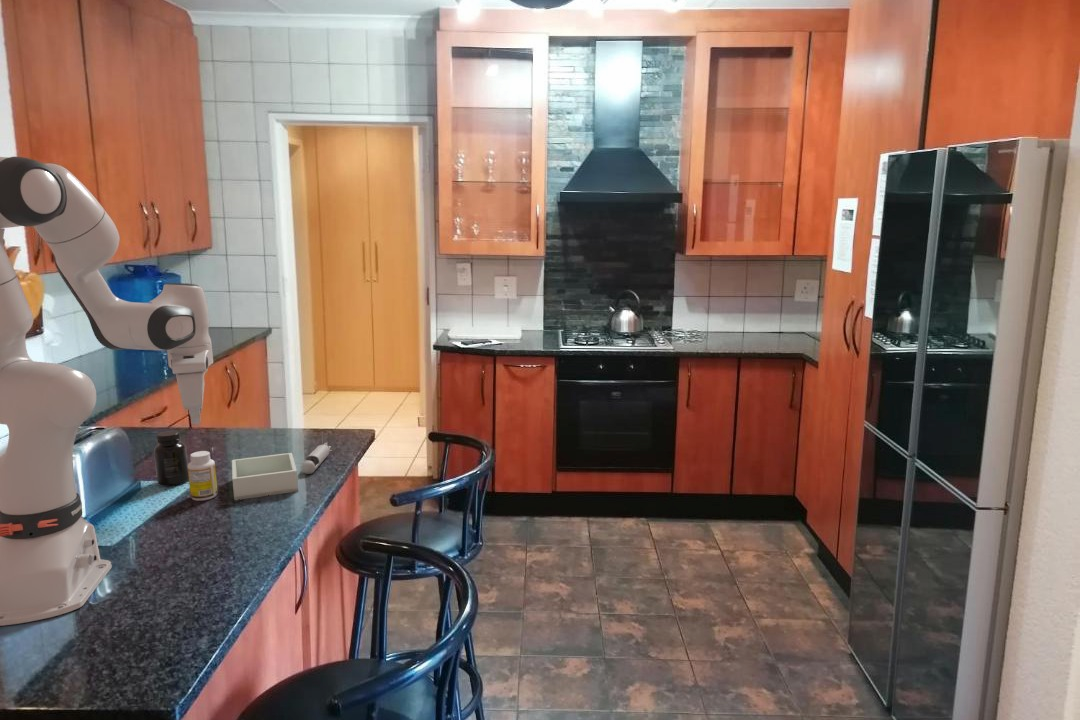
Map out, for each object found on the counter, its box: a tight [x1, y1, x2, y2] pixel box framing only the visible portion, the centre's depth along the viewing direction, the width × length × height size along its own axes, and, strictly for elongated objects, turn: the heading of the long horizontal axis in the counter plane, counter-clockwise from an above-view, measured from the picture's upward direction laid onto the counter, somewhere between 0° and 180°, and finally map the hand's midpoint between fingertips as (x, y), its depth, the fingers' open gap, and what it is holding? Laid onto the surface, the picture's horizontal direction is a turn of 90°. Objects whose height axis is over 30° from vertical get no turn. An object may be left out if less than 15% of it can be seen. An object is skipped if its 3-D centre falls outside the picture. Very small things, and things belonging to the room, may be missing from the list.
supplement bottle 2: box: [188, 450, 218, 502], centre depth 164 cm, size 6×6×10 cm
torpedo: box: [300, 432, 333, 475], centre depth 187 cm, size 18×5×7 cm, turn 0°
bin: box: [231, 452, 299, 501], centre depth 171 cm, size 14×14×5 cm
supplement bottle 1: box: [153, 430, 189, 487], centre depth 173 cm, size 7×7×12 cm
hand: (197, 418), depth 162 cm, fingers open, 8 cm apart
